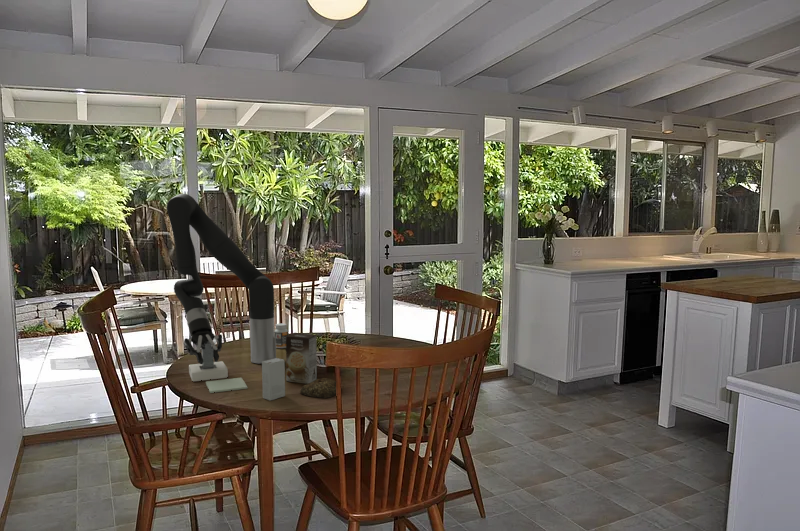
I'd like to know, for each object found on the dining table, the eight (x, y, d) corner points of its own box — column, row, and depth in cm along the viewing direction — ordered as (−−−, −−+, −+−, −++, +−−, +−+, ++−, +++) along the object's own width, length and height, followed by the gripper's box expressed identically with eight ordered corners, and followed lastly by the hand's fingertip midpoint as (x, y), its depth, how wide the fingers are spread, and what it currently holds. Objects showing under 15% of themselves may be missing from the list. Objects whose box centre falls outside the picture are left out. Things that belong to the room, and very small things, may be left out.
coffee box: (285, 381, 211) (284, 336, 209) (294, 376, 217) (293, 332, 215) (309, 384, 208) (308, 337, 206) (317, 379, 214) (317, 334, 212)
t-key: (212, 372, 222) (211, 340, 221) (214, 376, 217) (213, 343, 216) (202, 374, 220) (201, 341, 219) (203, 377, 216) (202, 344, 215)
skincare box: (277, 393, 197) (276, 357, 196) (286, 396, 194) (285, 359, 193) (261, 398, 193) (260, 360, 191) (270, 401, 190) (269, 363, 189)
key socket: (223, 369, 227) (222, 361, 226) (227, 377, 216) (227, 369, 216) (189, 372, 222) (188, 364, 222) (192, 381, 211) (192, 373, 211)
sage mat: (241, 379, 214) (241, 377, 214) (247, 388, 203) (247, 386, 203) (205, 383, 209) (205, 381, 209) (210, 393, 198) (209, 391, 198)
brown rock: (325, 401, 191) (324, 385, 190) (294, 394, 197) (294, 379, 197) (349, 390, 202) (349, 376, 201) (319, 384, 208) (319, 370, 208)
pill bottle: (285, 349, 258) (284, 325, 257) (272, 348, 260) (272, 325, 259) (290, 345, 264) (289, 323, 263) (277, 345, 265) (277, 322, 264)
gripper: (180, 319, 219) (190, 359, 210) (219, 315, 227) (231, 353, 218) (176, 331, 224) (187, 370, 215) (215, 326, 232) (227, 364, 223)
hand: (209, 361), depth 217 cm, fingers open, 4 cm apart
